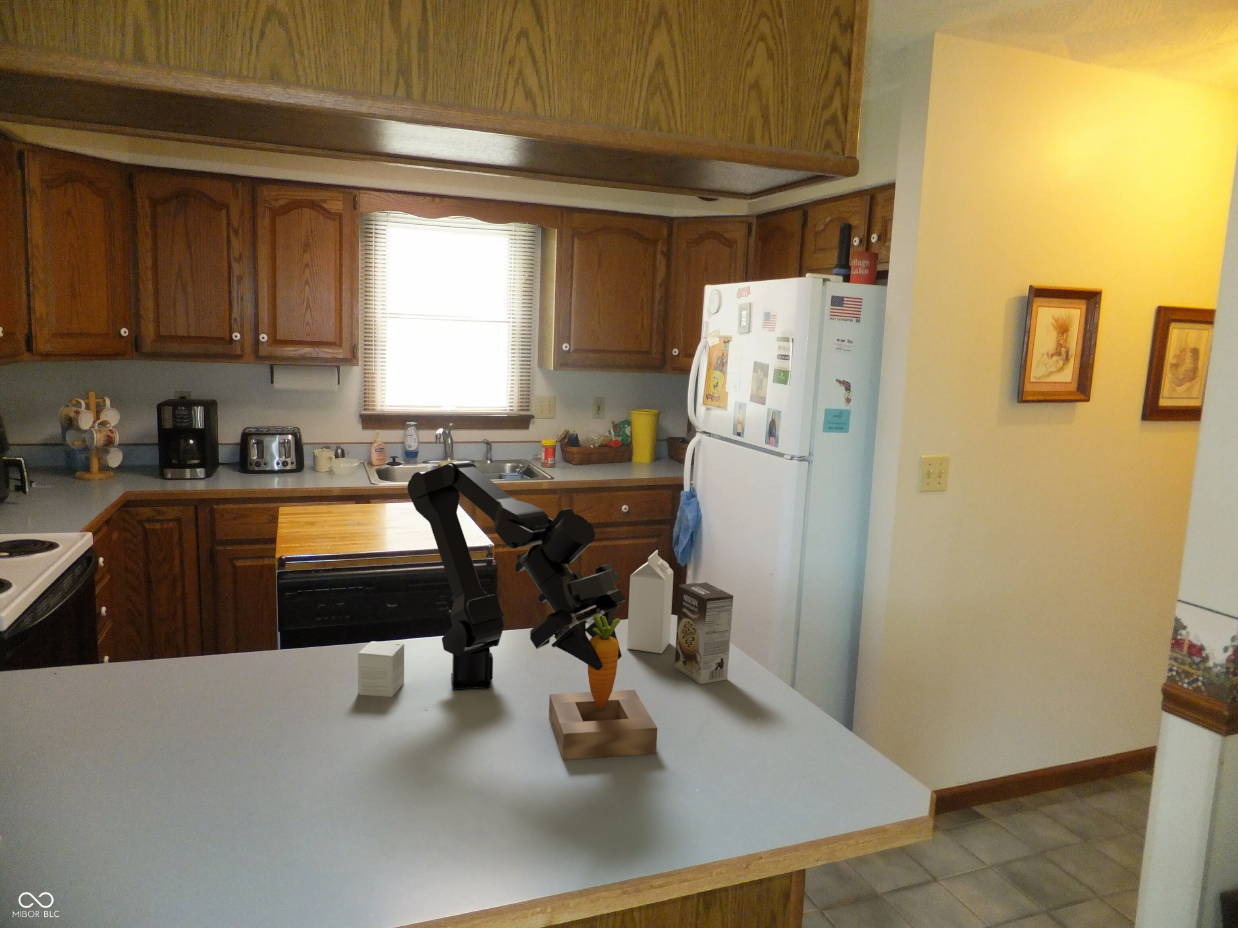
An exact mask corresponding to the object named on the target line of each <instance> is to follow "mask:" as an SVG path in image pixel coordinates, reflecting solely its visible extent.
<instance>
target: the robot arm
mask: <svg viewBox="0 0 1238 928" xmlns="http://www.w3.org/2000/svg"><path fill="white" fill-rule="evenodd" d="M407 493H408V495H409V498H410V499H411V502H412V504H413V506H414V508H415V511H416V512H418V514H419V515H420V516H422V517H423V518H424V519H425V520H426V521H427V522H428V523H429V526H430V528H431V531H432V535H433V537H434V541H435V543H436V547H437V550H438V552H439V555H440V556H439V557H440V560H441V563H442V565H443V568H444V572H445V574H446V577H447V581H448V583H449V588H450V590H451V593H452V596H453V603H452V607H451V612H450V623H451V627H450V628H449V629H448V630H447V631H446V633H445V634H444V635H443V636H442V637H441V642H442V648H443V651H445V652H447V653H450V654H452V660H451V661H452V665H451V666H452V667H451V668H452V669H451V670H452V672H451V674H450V675H451V679H450V680H451V689H453V690H466V689H485V688H487V689H488V688H491V686H492V685H491V681H492V680H493V676H494V657H493V653H492V652H491V649H490V648H493V647H498V646H499V644H500V640H501V637H502V636H503V635H502V634H503V631H504V628H505V622H504V621H505V619H504V616H505V614H504V612H503V610H502V608H501V606H500V602H499V597H498V596H497V595H496V594H495V593H494V594H488V593H487V591H484V590H483V588H482V585H481V583H480V579H479V576H478V573H477V570H476V568H475V564H474V561H473V559H472V556H471V552H470V549H469V546H468V543H467V541H466V538H465V535H464V532H463V531H464V530H463V528H462V525H461V521H460V520H459V516H458V508H459V503H460V500H461V495H463V497H465V498H466V499H467V500H468V501H470V502H471V503H472V504H473V505H474V506H475V507H476V508H478V509H479V510H480V511H481V512H482V513H483V514H485V516H487V517H488V518H489V519H490V520H491V521H492V523H493V526H494V532H495V533H496V534H497V536H498V537H499V539H501V540H502V542H503V543H504V544H505V545H506V547H508V548H510V549H513V550H514V549H518V548H519V549H521V548H523V547H524V548H525V547H528V546H531V547H530V548H529V549H528V550H527V551H524V552H521V553H519V554H516V563H515V565H514V566H515V568H514V570H515V572H516V573H520V572H522V571H525V570H526V572H527V573H528V574H529V576H530V578H531V579H532V580H533V582H534V583H535V585H536V587H537V588H538V590H539V591H540V593H541V594H540V595H539V596H538V597H537V599H538V600H539V602H540V603H541V604H542V603H545V602H547V603H548V605H549V607H550V608H551V610H552V611H553V612H552V613H550V614H549V613H548V615H546V616H545V617H544V618H543V619H542V620H541V621H539V623H537V624H536V625H535V626H533V628H532V629H530V631H529V634H530V635H529V640H530V641H531V642H532V644H533V646H534V647H535V649H536V650H538V649H541V648H543V647H545V646H547V645H549V644H550V642H551V641H550V639H552V637H554V639H555V641H554V642H552V643H551V647H552V649H553V648H558V649H560V650H562V651H564V652H565V653H567V654H570V655H571V656H573V657H574V658H577V659H578V660H580V661H581V662H583V663H585V664H587V666H588V665H589V666H591V667H593V668H594V669H596V670H600V669H601V668H602V667H603V665H602V663H601V661H600V659H599V657H598V655H597V653H596V651H595V650H594V648H593V646H592V644H591V643H590V639H589V638H588V636H587V634H588V635H589V636H590V637H591V638H592V637H594V636H598V635H597V634H596V633H595V632H594V631H593V628H597V626H596V624H595V622H594V619H593V616H594V615H596V614H598V615H599V617H600V619H601V617H602V616H605V617H606V620H607V623H608V625H609V626H611V624H612V622H613V621H614V620H615V614H616V612H617V611H618V608H619V607H620V605H622V604H624V602H625V601H627V598H626V597H625V595H624V594H623V593H622V591H621V590H620V589H618V588H617V586H616V583H617V582H618V579H619V574H618V573H617V572H616V571H615V570H614V568H613V567H612V566H611V564H610V563H606V564H603V565H600V566H597V567H595V569H594V570H595V571H594V572H595V573H594V574H592V575H589V576H586V577H584V575H583V574H582V572H580V571H578V570H577V571H574V572H573V571H572V570H571V569H570V567H569V564H571V563H573V562H574V561H575V560H576V559H577V558H578V557H579V556H580V555H581V554H582V553H583V552H584V551H585V550H586V549H587V548H588V547H589V546H590V545H591V544H592V543H593V542H594V541H595V539H596V532H595V528H594V527H593V525H592V523H591V522H589V521H588V520H587V519H585V518H584V517H583V516H581V515H579V514H577V513H574V511H573V508H572V507H569V508H564V509H560V511H559V512H558V513H557V514H556V516H555V518H551V517H549V516H548V514H547V512H545V510H543V509H542V508H539V507H538V506H536V505H534V504H532V503H529V502H527V501H526V502H525V501H521V500H517V499H515V498H514V497H512V496H510V495H509V494H508V493H507V492H506V491H505V490H504V489H502V488H501V487H500V486H499V485H497V484H496V483H495V482H494V481H492V480H491V479H490V478H489V477H487V476H486V475H485V474H484V473H482V472H481V471H480V470H479V469H477V466H476V465H475V463H474V462H472V461H468V460H464V461H454V462H451V461H450V462H448V463H447V464H445V465H442V466H440V467H438V468H435V469H431V470H427V471H417V472H414V473H413V474H412V475H411V477H410V480H408V482H407ZM601 622H602V619H601ZM586 624H588V627H587V626H586ZM602 625H603V622H602ZM603 627H604V625H603ZM597 629H598V628H597ZM616 633H617V632H616V628H615V629H614V631H613V632H612V634H611V637H613V638H616V639H617V640H618V637H617V634H616ZM621 658H622V652H621V649H620V647H619V650H618V660H620V659H621Z"/></svg>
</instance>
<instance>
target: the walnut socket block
mask: <svg viewBox="0 0 1238 928" xmlns="http://www.w3.org/2000/svg"><path fill="white" fill-rule="evenodd" d="M548 704H549V705H548V719H549V722H550V726H551V728H552V732H553V735H554V738H555V742H556V744H557V747H558V750H559V753H560V757H561V759H562V761H566V760H580V759H581V760H583V759H594V758H609V757H623V756H624V757H625V756H638V755H652V754H653V755H654V754H656V753H657V743H658V741H657V740H658V727H657V725H656V723H655V721H654V720H653V718H652V716H651V715H650V712H649V711H648V710H647V708H646V706H645V705H644V703H643V702H642V700H641V698H640V696H639V695H638V693H637V691H636V689H625V690H624V689H623V690H612V692H611V695H610V697H609V699H608V701H607V702H606V704H605V706H604V707H603V708H601V709H600V708H599V707H598V706H597V705H596V703H595V701H594V699H593V696H592V693H591V691H587V692H586V691H585V692H584V691H583V692H568V693H567V692H566V693H565V692H564V693H562V692H561V693H550V694H549V699H548Z"/></svg>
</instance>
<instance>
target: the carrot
mask: <svg viewBox="0 0 1238 928" xmlns="http://www.w3.org/2000/svg"><path fill="white" fill-rule="evenodd" d="M593 619H594V622H595V624H596V626H597V628H598V629H597V628H593V631H594V632H595V633H596V634H597V635H598V636H594V637H591V638H590V639H589V641H590V643H591V644H592V646H593V648H594V650H595V651H596V653H597V655H598V657H599V659H600V661H601V663H602V665H603V667H602V668H601V669H600V670H596V669H594V668H593V667H591V666H589V665H588V664H587V675H588V682H589V690H590V692H591V693H592V696H593V699H594V701H595V703H596V705H597V706H598V707H599V708H600V709H601V708H603V707H604V706H605V704H606V702H607V701H608V699H609V697H610V695H611V692H612V691H613V688H614V685H615V681H616V675H617V669H618V661H619V659H618V650H619V648H620V643H619V640H618V638H617V639H616V638H613V637H611V634H612V632H613V631H614V629H615V630H616V628H617V626H618V625H619V624H620V622H621V620H620V618H614V619H613V622H612V624H611V626H609V625H608V623H607V620H606V617H605V616H602V617H601V619H602V622H603V625H604V627H603V625H602V622H601V619H600V617H599V615H598V614H596V615H594V616H593Z"/></svg>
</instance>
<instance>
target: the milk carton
mask: <svg viewBox="0 0 1238 928" xmlns="http://www.w3.org/2000/svg"><path fill="white" fill-rule="evenodd" d="M658 554H659V550H658V549H656V550H655V551H654V552H653V553H652V554H650V555H649V557H647V561H646V563H644V564H642V565H641V566H639V568H637V569H636V570H635V571H634V572H633V573H631V574H630V575H629V577H630V578H629V593H628V594H629V595H628V613H627V614H628V616H627V617H628V618H627V620H628V621H627V638H626V645H627V646H626V649H629V650H636V651H640V652H641V651H642V652H646V653H647V652H648V653H655V654H662V653H664V651H665V649H666V648H667V647H668V645H669V644H670V641H671V623H672V622H671V621H672V608H673V607H672V606H673V605H672V603H673V588H674V587H673V586H674V571H673V569H672V568H671V567H670V564H668V562H667V561H665V560H664V559H662V558H661V556H659V555H658Z"/></svg>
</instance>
